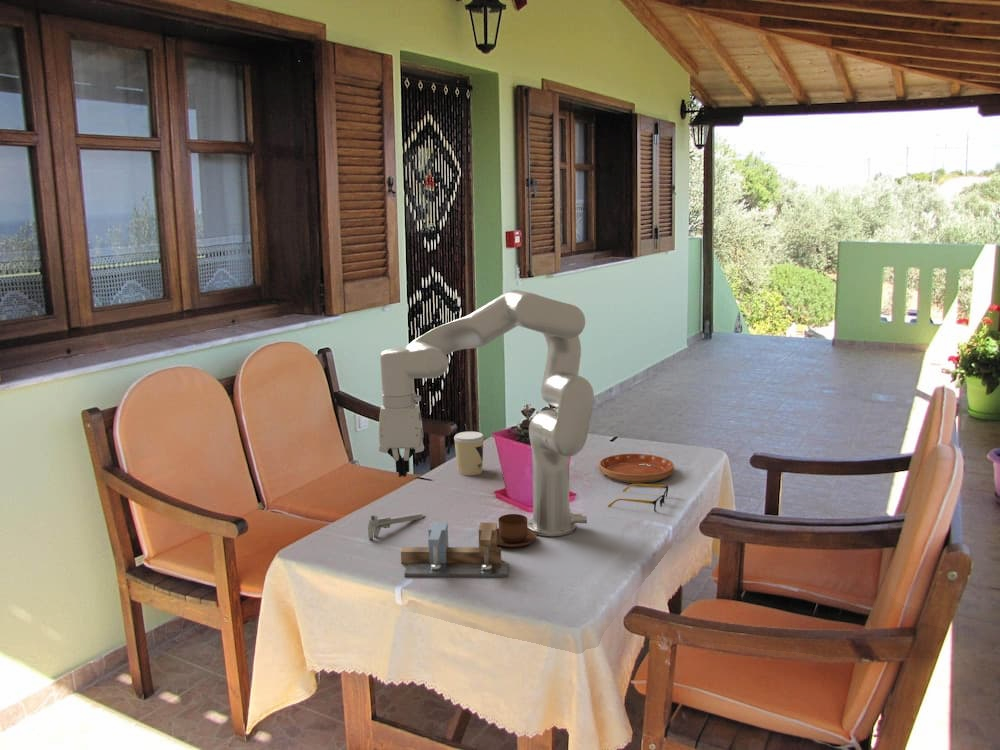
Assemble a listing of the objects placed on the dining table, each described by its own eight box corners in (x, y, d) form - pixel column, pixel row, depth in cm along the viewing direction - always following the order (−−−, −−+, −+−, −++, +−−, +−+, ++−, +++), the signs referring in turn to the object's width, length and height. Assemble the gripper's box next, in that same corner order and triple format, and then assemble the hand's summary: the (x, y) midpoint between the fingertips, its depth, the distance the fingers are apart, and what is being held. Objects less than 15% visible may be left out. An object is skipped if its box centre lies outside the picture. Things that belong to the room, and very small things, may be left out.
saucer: (600, 462, 300) (600, 451, 299) (672, 464, 297) (672, 453, 296) (597, 485, 278) (597, 473, 277) (675, 487, 275) (675, 475, 274)
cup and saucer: (481, 539, 238) (480, 516, 237) (521, 529, 244) (521, 507, 243) (504, 554, 228) (504, 531, 227) (545, 544, 234) (545, 521, 232)
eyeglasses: (657, 514, 254) (658, 501, 253) (607, 508, 260) (607, 494, 259) (670, 498, 266) (671, 485, 265) (622, 492, 272) (622, 479, 271)
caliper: (371, 541, 239) (370, 517, 237) (368, 540, 239) (367, 516, 238) (425, 517, 255) (424, 495, 253) (422, 516, 255) (421, 494, 254)
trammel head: (448, 556, 227) (447, 522, 225) (443, 574, 216) (442, 539, 214) (432, 555, 227) (431, 522, 225) (426, 574, 216) (424, 539, 214)
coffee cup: (484, 476, 288) (483, 439, 286) (454, 476, 288) (453, 439, 286) (485, 467, 297) (484, 430, 295) (455, 467, 297) (454, 431, 295)
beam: (501, 557, 226) (500, 522, 224) (498, 576, 215) (498, 539, 213) (403, 556, 227) (402, 522, 226) (396, 575, 217) (394, 539, 215)
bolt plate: (508, 566, 220) (508, 560, 220) (507, 577, 215) (507, 570, 214) (408, 566, 222) (408, 559, 222) (404, 576, 216) (404, 570, 216)
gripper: (432, 396, 222) (435, 469, 225) (370, 397, 222) (375, 470, 226) (428, 404, 214) (432, 479, 218) (364, 405, 215) (369, 480, 219)
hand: (403, 474), depth 222 cm, fingers closed
